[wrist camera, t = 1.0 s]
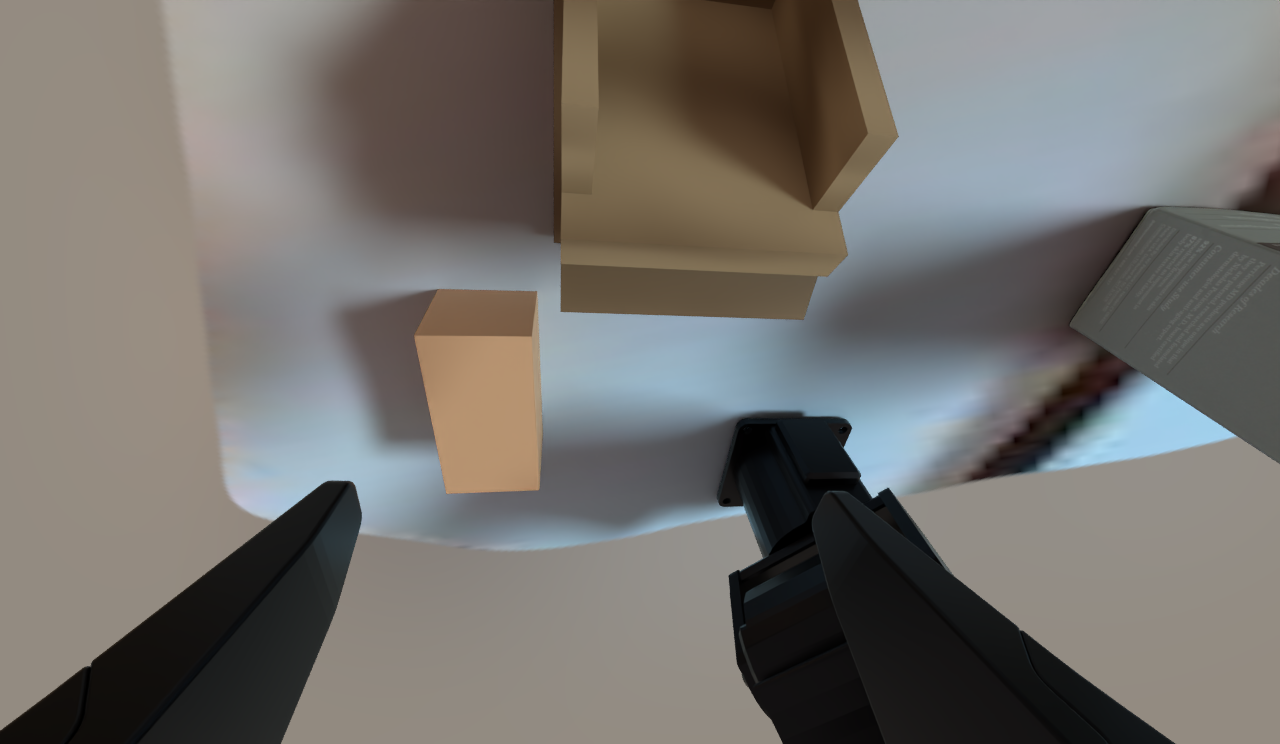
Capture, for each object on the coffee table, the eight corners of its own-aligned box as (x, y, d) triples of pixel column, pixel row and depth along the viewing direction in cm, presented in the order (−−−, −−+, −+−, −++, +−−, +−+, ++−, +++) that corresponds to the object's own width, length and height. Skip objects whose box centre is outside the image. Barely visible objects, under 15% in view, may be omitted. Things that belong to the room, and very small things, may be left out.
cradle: (739, 246, 20) (831, 357, 13) (554, 235, 19) (545, 350, 12) (857, -288, 12) (1236, -720, 5) (554, -362, 11) (528, -1043, 4)
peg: (542, 431, 25) (539, 490, 22) (462, 432, 24) (446, 493, 21) (537, 289, 21) (532, 336, 17) (438, 287, 20) (414, 335, 17)
